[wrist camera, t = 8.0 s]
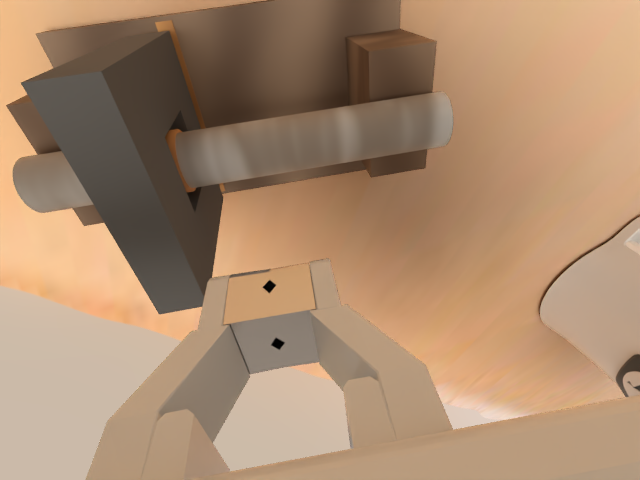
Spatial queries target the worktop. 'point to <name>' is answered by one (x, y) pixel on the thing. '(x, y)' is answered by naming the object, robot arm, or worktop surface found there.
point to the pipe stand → (267, 97)
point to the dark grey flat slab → (136, 160)
